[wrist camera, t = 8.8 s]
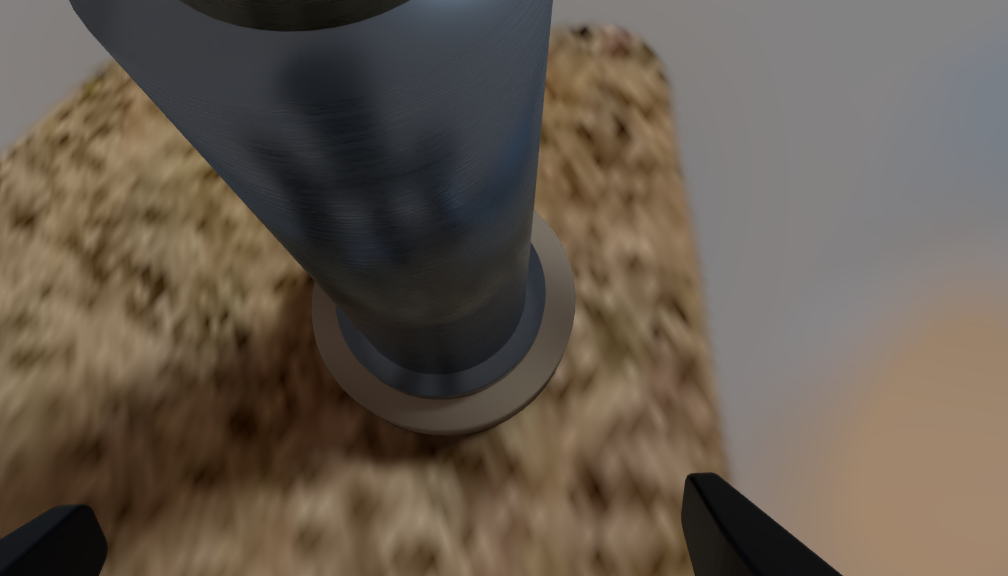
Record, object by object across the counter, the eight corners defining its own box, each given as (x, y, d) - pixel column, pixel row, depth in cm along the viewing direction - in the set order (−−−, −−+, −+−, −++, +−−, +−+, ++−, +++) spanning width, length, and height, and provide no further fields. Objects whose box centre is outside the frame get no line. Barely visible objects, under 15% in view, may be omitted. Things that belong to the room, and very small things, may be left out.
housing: (453, 444, 17) (249, 255, 3) (300, 312, 18) (-257, -178, 5) (584, 284, 18) (781, -252, 5) (435, 174, 20) (290, -467, 7)
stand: (536, 467, 18) (539, 463, 16) (292, 397, 19) (268, 386, 17) (592, 237, 21) (600, 211, 19) (377, 184, 22) (365, 155, 20)
